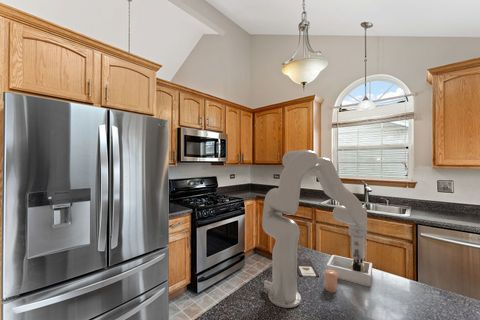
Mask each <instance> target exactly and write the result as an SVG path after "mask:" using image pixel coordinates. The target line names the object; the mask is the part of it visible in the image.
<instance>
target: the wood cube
mask: <svg viewBox="0 0 480 320" xmlns="http://www.w3.org/2000/svg"><path fill="white" fill-rule="evenodd" d="M360 265H361V272H362V273H364V263H360ZM351 270H353V261H352V265H351Z"/></svg>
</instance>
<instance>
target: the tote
mask: <svg viewBox="0 0 480 320" xmlns="http://www.w3.org/2000/svg"><path fill="white" fill-rule="evenodd" d="M352 261H353V258H349V257H344V256H340V255H336V254H332V255H331V257H330V258H329V260H328V262H327V264H326V270H333V271H335V272H337V280H343V281H346V282H351V283H354V284H358V285H362V286H365V287H368V286H369V287H368V288H371V286H372V285H371V284H372V277H373V263H372V262H367V261H364V260H363V263H364V273H362V272H358V271H354V270H351V265H352Z"/></svg>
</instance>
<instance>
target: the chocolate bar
mask: <svg viewBox="0 0 480 320" xmlns="http://www.w3.org/2000/svg"><path fill="white" fill-rule="evenodd" d="M313 264H314V263H312V261H311V259H310V258H308V259H307V258H305V259H304V258H297V275H298V276H299V277H306V278H307V277H308V278H309V277H311V278H312V277H313V278H319V277H320V275H319V273H318V271H317V270H316V268H315V266H314V265H313Z"/></svg>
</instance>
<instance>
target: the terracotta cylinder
mask: <svg viewBox="0 0 480 320" xmlns="http://www.w3.org/2000/svg"><path fill="white" fill-rule="evenodd" d="M324 290H325V291H327V292H329V293H337V292H338V278H337V272H335V271H333V270H327V269H325V270H324Z"/></svg>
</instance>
